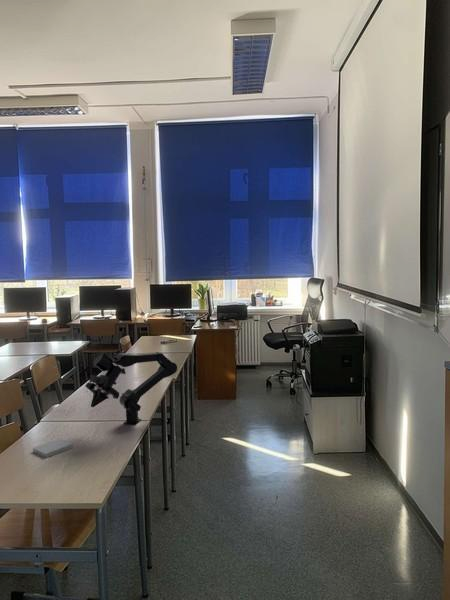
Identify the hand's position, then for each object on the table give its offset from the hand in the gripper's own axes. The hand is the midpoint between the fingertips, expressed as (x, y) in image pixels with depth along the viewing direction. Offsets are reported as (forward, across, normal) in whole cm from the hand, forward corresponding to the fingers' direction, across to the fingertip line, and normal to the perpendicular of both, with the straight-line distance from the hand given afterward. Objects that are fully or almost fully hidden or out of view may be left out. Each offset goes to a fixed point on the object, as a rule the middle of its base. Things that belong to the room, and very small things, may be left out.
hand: (91, 406), depth 201 cm
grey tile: (+18, 0, -1) cm, 18 cm away
